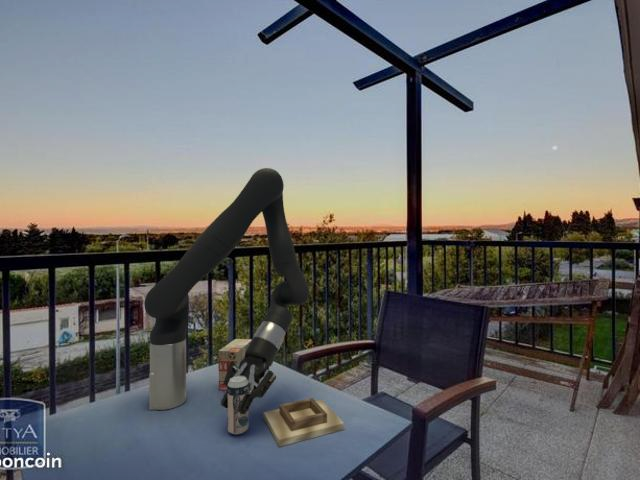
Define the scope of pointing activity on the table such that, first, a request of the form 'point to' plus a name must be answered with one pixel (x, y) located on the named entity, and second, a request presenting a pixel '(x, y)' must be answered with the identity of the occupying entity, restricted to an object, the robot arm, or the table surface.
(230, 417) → the beer can
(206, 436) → the table surface
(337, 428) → the base board
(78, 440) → the table surface
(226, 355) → the stack of blocks
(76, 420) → the table surface
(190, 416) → the table surface
